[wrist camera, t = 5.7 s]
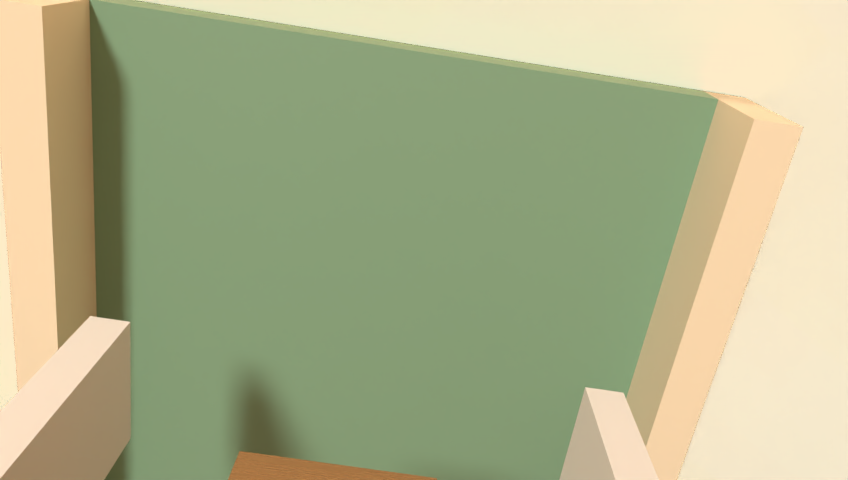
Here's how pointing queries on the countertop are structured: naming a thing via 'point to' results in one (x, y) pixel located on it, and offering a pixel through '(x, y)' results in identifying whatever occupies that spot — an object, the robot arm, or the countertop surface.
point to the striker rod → (305, 470)
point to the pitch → (370, 239)
